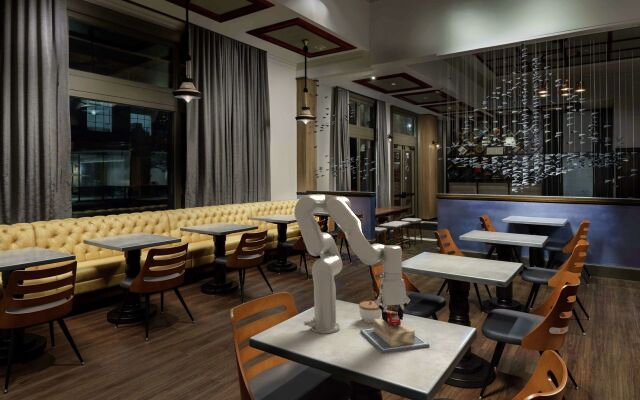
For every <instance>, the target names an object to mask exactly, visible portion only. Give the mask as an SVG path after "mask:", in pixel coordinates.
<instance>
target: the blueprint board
mask: <svg viewBox="0 0 640 400" xmlns="http://www.w3.org/2000/svg"><path fill="white" fill-rule="evenodd" d="M372 324H373V325H372V326H373V328H369V329H360V331H359V332H360V334H362V336H364V338H365V339H366V340H367V341H369V342H370V343H371V344H372V345H373V346H374V347H375V348H376V349H377V350H378V351H379V352H380V353H381V354H382V355H383V354H390V353H396V352H402V351H412V350H417V349H424V348H429V347H430V343H428V342H427V341H426V340H424V339H423V338H421V337H420V336H419V335H417V334H416V332H415V330H414V329H412V328H411V327H410V326H408V325H407V324H405V323H404V322H403V321H401V325H393V326H392V325H388V323H387V322H385V321H384V320H383V319H382V317H380V319H373V323H372Z"/></svg>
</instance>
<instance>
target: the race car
mask: <svg viewBox="0 0 640 400" xmlns="http://www.w3.org/2000/svg"><path fill="white" fill-rule="evenodd" d="M386 312H387V323H388V325H392V326H393V325H401V322H402V320H400V318H399V316H398V311H397V312H396V311H392V310H390V311H386Z"/></svg>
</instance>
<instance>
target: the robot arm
mask: <svg viewBox="0 0 640 400" xmlns="http://www.w3.org/2000/svg"><path fill="white" fill-rule="evenodd" d="M318 213H323V214H328V215H329V216H330V217H331V218H332V219H333V221H334V222H335V223H336V225H337V226H338V227H339V228H340V229H341V231H342V232H343V233H344V235H345V238H346V240H347V242H348V245H349V247H350V248H351V250H352V251H353V253H354V254H355V255H356V257H358V258H359V260H360V261H361V262H362V263H363V264H365V265H367V266H373V265H375V264H377V263H379V262H382V273H380V274H379V276H380V277H379V278H381V281H380V285H379V286H380V288H379V296H378V297H377V299H375V300H374V301H375V302H374V303H375V304H376V305H377V306H378V307H379V308H380V309H381V310H382V314H381V318H382V319H383V320H384V321H385V322H387V312H388V311H387V310H388V307H389V306H390V307H391V306H398V308H397V313H398V316H399V318H400V320H401V321H403V319H404V311H405V308H406V307H407V306H408V304H409V303H410V301H411V299H410V298H409V296H408V295H407V290H406V284H405V279H403V267H402V266H403V262H402V261H403V254H402V253H403V249H402V247H401V246H400V245H393V244H392V245H390V244H389V245H387V244H386V245H385V244H381V243H373V244H371V243H370V242H369V241H368V239H366V237H365V235H364V234H363V232H362V221H361V220H360V219H359V217H358V216H357V215H356V214H355V213H354V212H353V211H352V203H351V201H350V200H349V198H348V197H345V196H343V195H341V196H340V195H331V194H321V193H320V194H319V193H316V194H307V195H303V196H302V197H301V198H299V199H298V200H297V202H296V203H295V207H294V218H295V220H296V223H297V226H298V227H299V230H300V234H301V237H302V238H303V241H304V244H305V247H306V250H307V252H308V253H309V255H311V256H313V257H317V256H320V258H318V259H316V260H315V261H314V263H313V264H312V267H311V273H312V274H311V275H312V279H313V296H314V297H313V301H314V303H313V305H314V308H313V309H314V310H313V311H314V317H312V319H310V320H305V321H303V326H308V327H309V328H310V329H311V331H312V332H314V333H316V334H333V333H337V332H338V331H339V330H340V328H341V326H340V323H337V300H336V299H337V298H336V297H337V296H336V294H337V293H336V292H337V290H336V289H337V287H336V283H335V278H334V277H335V276H336V275H338V274H339V273H340V272H341V271H342V269H343V260H342V257H341V254H340V251H339V249H338V246H337V244H336V242H335V239H334V238H333V236H332V235H331V234H329V233H327V232H322V231H321V227H320V225H319V222H318V221H317V220H316V218H315V216H314V214H318ZM380 303H381V304H382V306H381V305H380Z"/></svg>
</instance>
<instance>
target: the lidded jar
mask: <svg viewBox="0 0 640 400" xmlns="http://www.w3.org/2000/svg"><path fill="white" fill-rule="evenodd" d="M375 301H376V300H367V301H366V300H365V301H361V302H360V303H359V305H358V306H359V309H358V310H359V314H360V317H361V318H362V320H363V321H364V322H365V323H368V324H373V319H381V318H382V310H381V309H380V308H379V307H378V306H377V305H376V304H375V303H374V302H375ZM380 305H381V306H382V303H381V302H380Z"/></svg>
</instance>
